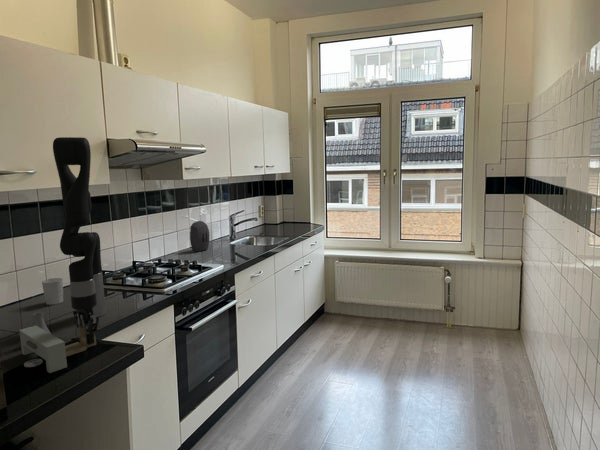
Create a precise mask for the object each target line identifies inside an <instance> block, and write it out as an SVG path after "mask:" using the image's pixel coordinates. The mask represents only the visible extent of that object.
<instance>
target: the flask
mask: <svg viewBox="0 0 600 450" xmlns="http://www.w3.org/2000/svg"><path fill="white" fill-rule="evenodd" d="M32 317H33V321H34V322H33V326H38V327H40V328H41V329H43V330H45V331H47V332H48V333H50V334H52V333H51V332H50V330H49V328H48V326H47V324H46V323H45V319H44V311H43V312H42V311H39V312H38V311H37V312H35V313H33V314H32Z"/></svg>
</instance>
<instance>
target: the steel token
mask: <svg viewBox="0 0 600 450" xmlns="http://www.w3.org/2000/svg"><path fill="white" fill-rule="evenodd" d="M43 360H44V359H43V358H34V359H33V358H32V359H29V360H27V361H25V362H24V363H23V366H24V367H25V368H35V367H38V366H40V365H41V364H43V363H44V362H43Z"/></svg>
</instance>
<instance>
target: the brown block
mask: <svg viewBox="0 0 600 450" xmlns="http://www.w3.org/2000/svg"><path fill="white" fill-rule="evenodd" d="M88 324H89V323H88ZM77 329H78V335H79V341H77V342H73V343H70V344H67V345H65V350H66V358H67V357H70V356H72V355H75V354H79V353H82V352H84V351H87V350H88V348H91V347H94V346H97V338H96V336H97V335H96V332H94V343H93V344H90V345H88V344H87V340H86V332H85V328H84V327H83V325H82V326H78V328H77Z"/></svg>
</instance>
